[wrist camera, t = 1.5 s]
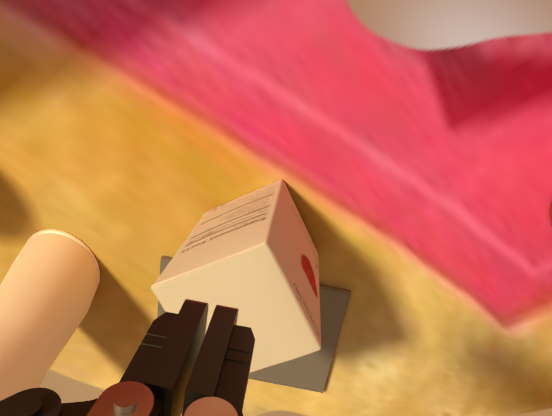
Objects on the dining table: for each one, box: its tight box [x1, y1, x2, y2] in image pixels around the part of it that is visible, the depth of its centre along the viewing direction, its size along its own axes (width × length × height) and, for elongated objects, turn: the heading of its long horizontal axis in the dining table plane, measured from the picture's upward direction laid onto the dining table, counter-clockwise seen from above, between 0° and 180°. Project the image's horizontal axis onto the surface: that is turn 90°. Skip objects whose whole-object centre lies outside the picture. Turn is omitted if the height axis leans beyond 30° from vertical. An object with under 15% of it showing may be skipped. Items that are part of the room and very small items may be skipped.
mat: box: [158, 256, 350, 393], centre depth 47 cm, size 20×14×1 cm
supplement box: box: [151, 179, 321, 373], centre depth 35 cm, size 9×9×15 cm
